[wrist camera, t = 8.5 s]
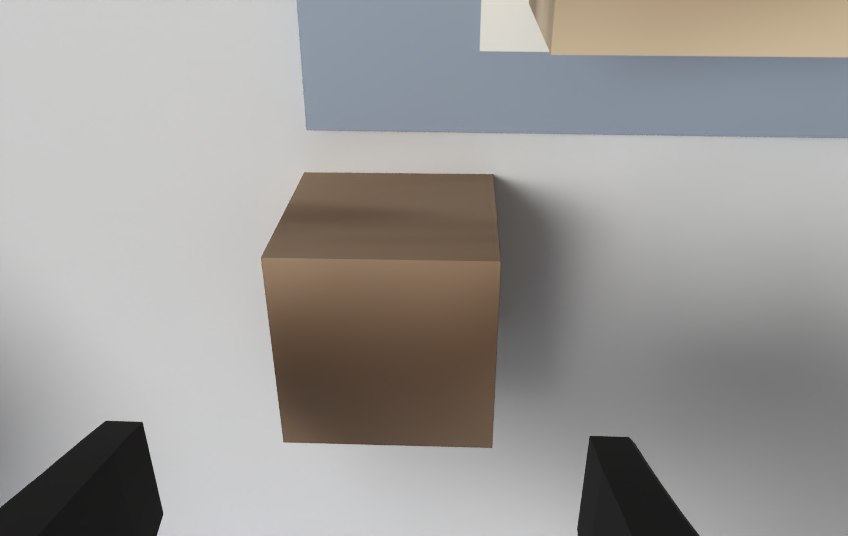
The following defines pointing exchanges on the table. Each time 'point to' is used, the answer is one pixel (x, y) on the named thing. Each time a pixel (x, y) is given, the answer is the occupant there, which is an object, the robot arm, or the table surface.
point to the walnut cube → (386, 309)
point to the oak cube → (694, 27)
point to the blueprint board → (541, 79)
